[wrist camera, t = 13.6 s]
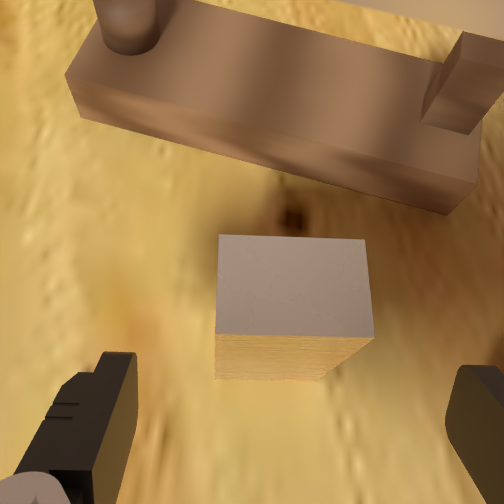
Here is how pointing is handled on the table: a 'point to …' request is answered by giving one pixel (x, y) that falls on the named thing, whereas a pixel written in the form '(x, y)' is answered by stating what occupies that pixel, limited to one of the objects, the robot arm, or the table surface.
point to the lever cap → (289, 306)
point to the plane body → (292, 97)
